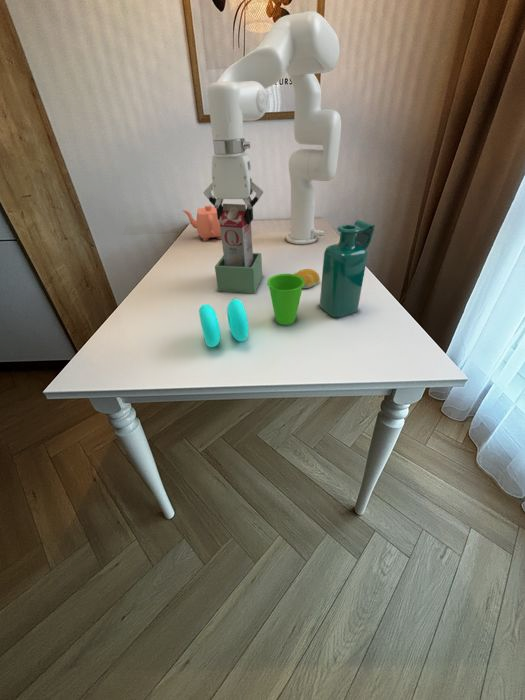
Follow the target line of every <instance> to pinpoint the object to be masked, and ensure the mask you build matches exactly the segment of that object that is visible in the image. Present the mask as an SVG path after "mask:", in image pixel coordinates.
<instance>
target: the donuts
mask: <svg viewBox="0 0 525 700" xmlns="http://www.w3.org/2000/svg"><path fill="white" fill-rule="evenodd" d="M226 308H227V309H226V315H227V321H228V326H229V330H230V333H231V335H232V336H233V338H234V339H235V340H236V341H239V342H244V341H246V340H247V339H248V337H249V333H250V331H249V321H248V317H247V312H246V309H245V306H244V304H243V301H241V300H240V299H238V298H233V299H231V300H230V301H229V303H228V304H227V307H226ZM198 314H199V318H200V325H201V329H202V334H203V338H204V342H205V344H206V346H208V347H209V348H215V347H216V346H218V345H219V343H220V341H221V331H220V324H219V319H218V316H217V313H216V311H215V308H213V306H211V305H210V304H206V303H204V304H202V305H200V307H199V309H198Z"/></svg>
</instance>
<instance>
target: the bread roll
mask: <svg viewBox="0 0 525 700" xmlns="http://www.w3.org/2000/svg"><path fill="white" fill-rule="evenodd" d="M293 274H295V275H298V276H300V277H302V278H303V279H304V281H305V284H304V286H303V287H302V289H310V288H312V287H313V286H316V285H317V284H318V283H320V279H321V278H320V275H319V273H318V272H317V270H315V269H311V268H305V269H300V270H298V271H296V272H295V273H293Z"/></svg>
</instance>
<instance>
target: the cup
mask: <svg viewBox="0 0 525 700" xmlns="http://www.w3.org/2000/svg"><path fill="white" fill-rule="evenodd" d="M266 284H267V286H268V288H269V293H270V298H271V304H272V308H273V313H274V314H273V315H274V319H275V321H276V322H277V324H279V325H282V326H288V325H292V324H294V322H295V321H296V319H297V314H298V311H299V305H300V300H301V296H302V291H303V288H302V287H303V286H304V284H305V281H304V279H303V278H302V277H300V276H298V275H295V274H294V273H278V274H275V275H272V276H270V277H269V278H268V279H267V281H266Z"/></svg>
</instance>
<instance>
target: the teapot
mask: <svg viewBox="0 0 525 700" xmlns="http://www.w3.org/2000/svg"><path fill="white" fill-rule="evenodd" d="M181 211H182V212H183V213H185V214H186V215H187V217H188V220H189V223H190V225H191V226H192V227H193V228H194V229H196V230H197V233H198V235H199V237H200V238H202V241H203V242H205V241H209V240H210V238H216V239H217V240H222V238H221V230H220V222H219V220H218V217H217V209H216V208H215V207H214V206H213V205H212V204H211V205H210V204H207V205H204V207H200V208H198V209H197V210H196V220H195V219H194V217H193V216H192V213H191V212H190V211H189V210H185V209H184V210H181Z"/></svg>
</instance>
